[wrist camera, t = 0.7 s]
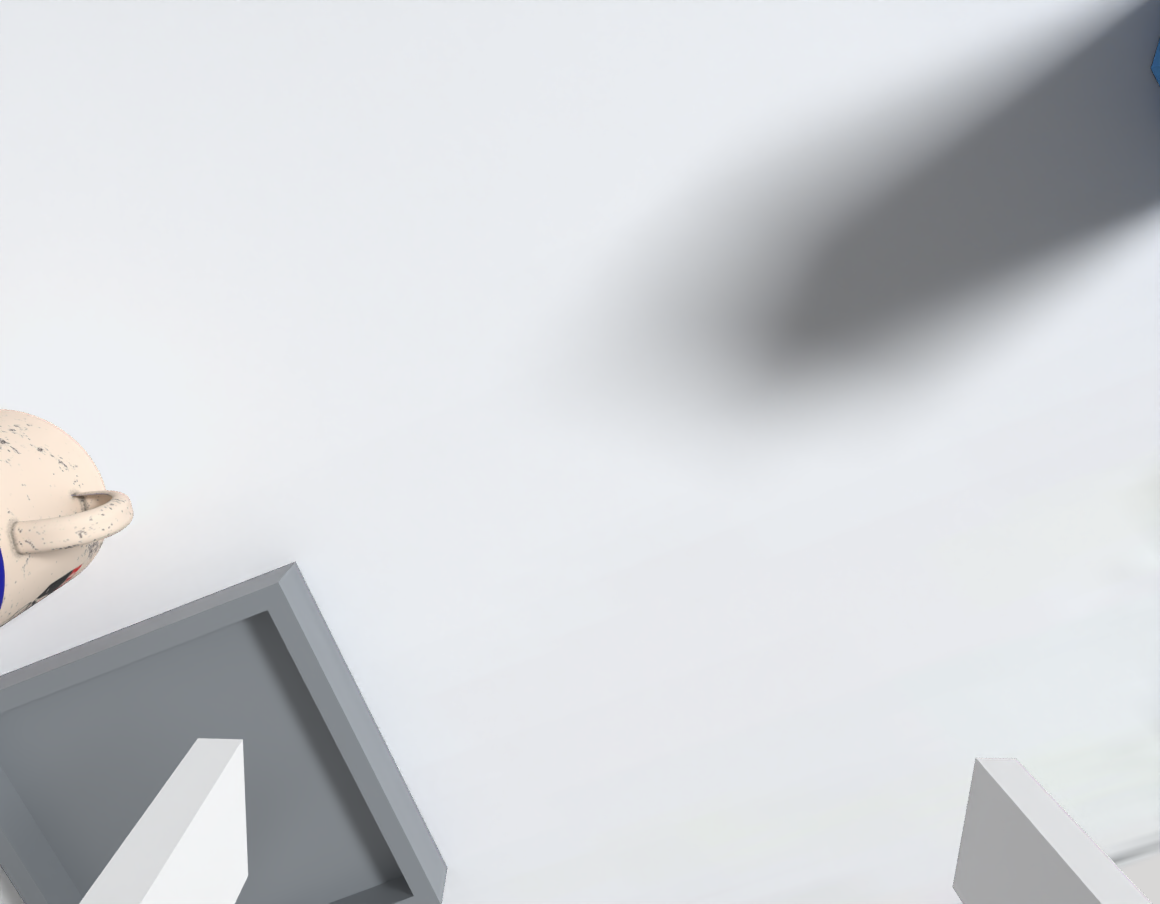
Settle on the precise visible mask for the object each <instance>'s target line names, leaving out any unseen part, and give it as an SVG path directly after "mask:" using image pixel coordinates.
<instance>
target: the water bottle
mask: <svg viewBox="0 0 1160 904" xmlns="http://www.w3.org/2000/svg"><path fill="white" fill-rule="evenodd" d="M1151 69H1152V71H1153V73H1154V75H1155V78H1156V80H1157V82H1158V84H1159V86H1160V39H1159V43H1158V46H1157V50H1156V53H1155V56H1154V60H1153V63H1152V66H1151Z"/></svg>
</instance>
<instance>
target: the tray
mask: <svg viewBox="0 0 1160 904" xmlns="http://www.w3.org/2000/svg"><path fill="white" fill-rule="evenodd" d="M198 738H208V739H243V757H244V782H245V808H246V833H247V859H248V877H247V879H246V881H245V883H244V885H243V887H242V890H241V892H240V894H239V896H238V898H237V900H236V902H235V904H442V898H443V892H444V886H445V879H446V873H447V866H446V864H445V862H444V860H443V858H442V856H441V854H440V852H439V850H438V848H437V846H436V844H435V842H434V840H433V838H432V836H431V834H430V832H429V830H428V828H427V826H426V824H425V822H424V820H423V818H422V816H421V814H420V812H419V810H418V808H417V806H416V804H415V802H414V800H413V798H412V796H411V794H410V792H409V790H408V788H407V786H406V784H405V782H404V780H403V778H402V776H401V774H400V772H399V770H398V767H397V765H396V763H395V761H394V759H393V757H392V755H391V753H390V751H389V749H388V747H387V745H386V743H385V741H384V739H383V737H382V735H381V733H380V731H379V729H378V727H377V725H376V723H375V721H374V719H373V717H372V715H371V713H370V711H369V709H368V707H367V705H366V703H365V701H364V699H363V697H362V695H361V693H360V691H359V689H358V687H357V685H356V683H355V681H354V679H353V677H352V675H351V673H350V671H349V669H348V667H347V665H346V663H345V661H344V659H343V657H342V655H341V653H340V651H339V649H338V647H337V645H336V643H335V641H334V638H333V636H332V634H331V632H330V630H329V628H328V626H327V624H326V622H325V620H324V618H323V616H322V614H321V612H320V610H319V608H318V606H317V604H316V602H315V600H314V598H313V596H312V594H311V592H310V590H309V588H308V586H307V584H306V582H305V580H304V578H303V576H302V574H301V572H300V570H299V568H298V566H297V564H296V562H294V563H291V564H289V565H286V566H283V567H281V568H278V569H276V570H273V571H270V572H268V573H265V574H263V575H260V576H258V577H255V578H252V579H250V580H247V581H245V582H242V583H240V584H237V585H234V586H232V587H229V588H227V589H224V590H221V591H219V592H216V593H214V594H211V595H209V596H206V597H203V598H201V599H198V600H196V601H193V602H190V603H188V604H185V605H183V606H180V607H178V608H175V609H172V610H170V611H167V612H165V613H162V614H160V615H157V616H154V617H152V618H149V619H147V620H144V621H141V622H139V623H136V624H134V625H131V626H129V627H126V628H123V629H121V630H118V631H116V632H113V633H111V634H108V635H105V636H103V637H100V638H98V639H95V640H92V641H90V642H87V643H85V644H82V645H80V646H77V647H74V648H72V649H69V650H67V651H64V652H62V653H59V654H56V655H54V656H51V657H49V658H46V659H43V660H41V661H38V662H36V663H33V664H31V665H28V666H25V667H23V668H20V669H18V670H15V671H13V672H10V673H7V674H5V675H2V676H0V865H1V867H2V868H3V870H4V871H5V873H6V875H7V876H8V878H9V879H10V881H11V882H12V884H13V885H14V887H15V889H16V890H17V892H18V893H19V895H20V896H21V898H22V899H23V901H24V903H25V904H79V903H80V902H81V900H82V899H83V898H84V896H85V895H86V893H87V892H88V891H89V889H90V888H91V886H92V885H93V884H94V882H95V881H96V880H97V878H98V877H99V875H100V874H101V873H102V871H103V870H104V868H105V867H106V866H107V864H108V863H109V861H110V860H111V859H112V857H113V856H114V854H115V853H116V852H117V850H118V849H119V847H120V846H121V845H122V843H123V842H124V841H125V839H126V838H127V836H128V835H129V834H130V832H131V831H132V829H133V828H134V827H135V825H136V824H137V822H138V821H139V820H140V818H141V817H142V815H143V814H144V813H145V811H146V810H147V808H148V807H149V806H150V804H151V803H152V802H153V800H154V799H155V797H156V796H157V795H158V793H159V792H160V790H161V789H162V788H163V786H164V785H165V783H166V782H167V781H168V779H169V778H170V776H171V775H172V774H173V772H174V771H175V769H176V768H177V767H178V765H179V764H180V763H181V761H182V760H183V758H184V757H185V756H186V754H187V753H188V751H189V750H190V749H191V747H192V746H193V744H194V743H195V742H196V740H197V739H198Z"/></svg>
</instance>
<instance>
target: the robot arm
mask: <svg viewBox="0 0 1160 904" xmlns="http://www.w3.org/2000/svg"><path fill="white" fill-rule="evenodd" d="M247 877H248V859H247V833H246V808H245V782H244V757H243V739H208V738H198V739H197V740H196V742H195V743H194V744H193V746H192V747H191V749H190V750H189V751H188V753H187V754H186V756H185V757H184V758H183V760H182V761H181V763H180V764H179V765H178V767H177V768H176V769H175V771H174V772H173V774H172V775H171V776H170V778H169V779H168V781H167V782H166V783H165V785H164V786H163V788H162V789H161V790H160V792H159V793H158V795H157V796H156V797H155V799H154V800H153V802H152V803H151V804H150V806H149V807H148V808H147V810H146V811H145V813H144V814H143V815H142V817H141V818H140V820H139V821H138V822H137V824H136V825H135V827H134V828H133V829H132V831H131V832H130V834H129V835H128V836H127V838H126V839H125V841H124V842H123V843H122V845H121V846H120V847H119V849H118V850H117V852H116V853H115V854H114V856H113V857H112V859H111V860H110V861H109V863H108V864H107V866H106V867H105V868H104V870H103V871H102V873H101V874H100V875H99V877H98V878H97V880H96V881H95V882H94V884H93V885H92V886H91V888H90V889H89V891H88V892H87V893H86V895H85V896H84V898H83V899H82V900H81V902H80V903H79V904H235V902H236V900H237V898H238V896H239V894H240V892H241V890H242V887H243V885H244V883H245V881H246V879H247ZM953 889H954V890H955V892H956V893H957V895H958V896H959V898H960V900H961V901H962V903H963V904H1153V903H1152V902H1151V901H1150V900H1149V899H1148V898H1147V897H1146V896H1145V895H1144V894H1143V893H1142V892H1141V891H1140V890H1139V889H1138V887H1137V886H1136V885H1135V884H1134V883H1133V882H1132V881H1131V880H1130V879H1129V878H1128V877H1127V876H1126V875H1125V874H1124V873H1123V872H1122V870H1121V869H1120V868H1119V867H1118V866H1117V865H1116V864H1115V863H1114V862H1113V861H1112V860H1111V859H1110V858H1109V857H1108V856H1107V854H1106V853H1105V852H1104V851H1103V850H1102V849H1101V848H1100V847H1099V846H1098V845H1097V844H1096V843H1095V842H1094V841H1093V840H1092V839H1091V837H1090V836H1089V835H1088V834H1087V833H1086V832H1085V831H1084V830H1083V829H1082V828H1081V827H1080V826H1079V825H1078V824H1077V823H1076V822H1075V820H1074V819H1073V818H1072V817H1071V816H1070V815H1069V814H1068V813H1067V812H1066V811H1065V810H1064V809H1063V808H1062V807H1061V806H1060V805H1059V803H1058V802H1057V801H1056V800H1055V799H1054V798H1053V797H1052V796H1051V795H1050V794H1049V793H1048V792H1047V791H1046V790H1045V789H1044V788H1043V786H1042V785H1041V784H1040V783H1039V782H1038V781H1037V780H1036V779H1035V778H1034V777H1033V776H1032V775H1031V774H1030V773H1029V772H1028V770H1027V769H1026V768H1025V767H1024V766H1023V765H1022V764H1021V763H1020V762H1019V761H1018V760H1017V759H1008V758H976V759H975V764H974V770H973V776H972V781H971V787H970V792H969V798H968V804H967V809H966V815H965V820H964V826H963V832H962V837H961V843H960V848H959V854H958V860H957V865H956V871H955V877H954V882H953Z"/></svg>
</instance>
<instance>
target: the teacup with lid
mask: <svg viewBox="0 0 1160 904" xmlns="http://www.w3.org/2000/svg"><path fill="white" fill-rule="evenodd" d="M132 518H133V509H132V505H131V501H130V499H129V497H128V496H127V495H125V494H124V493H121V492H118V491H109V490H106V489H105V486H104V482H103V480H102V477H101V475H100V473H99V471H98V469H97V467H96V465H95V464H94V462H93V461H92V459H91V457H90V456H89V455H88V454H87V452H86V451H85V450H84V449H83V448H82V447H81V445H80V444H79V443H78V442H77V441H75V440H74V439H73V438H72V437H71V436H70V435H68V434H67V433H66V432H65V431H63V430H62V429H60V428H59V427H57V426H55V425H54V424H52V423H50V422H48V421H46V420H44V419H41V418H39V417H36V416H34V415H31V414H27V413H24V412H19V411H14V410H6V409H0V627H1V626H3V625H4V624H6V623H7V622H9V621H10V620H12V619H13V618H15V617H16V616H18V615H19V614H21V613H22V612H24V611H25V610H27V609H28V608H30V607H31V606H33V605H34V604H36V603H37V602H39V601H40V600H42V599H43V598H45V597H46V596H48V595H49V594H51V593H52V592H54V591H55V590H57V589H58V588H59V587H61V586H62V585H64V584H65V583H67V582H68V581H70V580H71V579H73V578H74V577H76V576H77V575H78V574H79V573H81V572H82V571H83V570H84V569H85V568H86V567H87V566H88V565H89V564H90V562H91V561H92V560H93V559H94V557H95V556H96V554H97V553H98V551H99V549H100V547H101V545H102V543H103V540H104V538H107V537H109V536H112V535H114V534H116V533H118V532H119V531H121V530H122V529H124V528H125V527H126V526H127V525H128V524H129V523H130V522H131V520H132Z"/></svg>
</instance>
